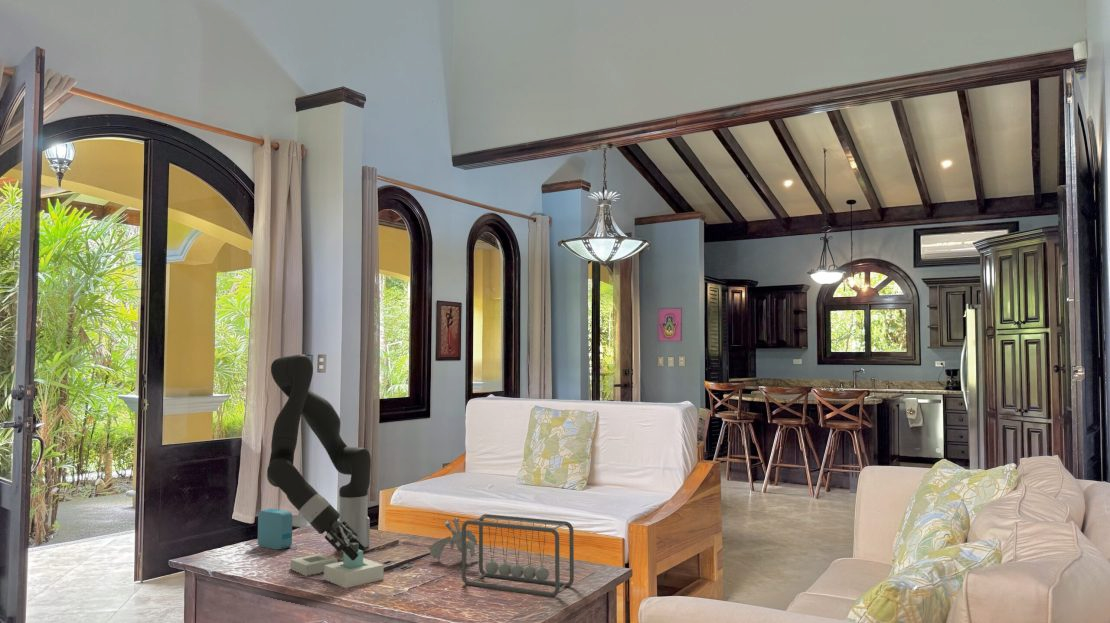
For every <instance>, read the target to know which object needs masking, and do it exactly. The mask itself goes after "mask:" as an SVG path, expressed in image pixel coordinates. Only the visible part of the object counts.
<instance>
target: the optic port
mask: <svg viewBox="0 0 1110 623" xmlns="http://www.w3.org/2000/svg"><path fill="white" fill-rule="evenodd" d="M384 565H385V564H382V563H380V562H376V561H373V560H370V559H367V558H365V557H363V566H362V567H357V568H353V569H348V568H346V567H343V561H339V562H337V563H333V564H328V565H324V572H323V573H324V576H323V580H324V579H325V581H326V582H329V581H330V582H329V583H332V584H335V585H337V586H339V587H341V588H344V589H348V588H352V587H356V586H362V585H365V584H369V583H374V582H376V581H377V582H378V581H382V580H384V579H385V578H384V574H385V573H384V568H385V567H384Z"/></svg>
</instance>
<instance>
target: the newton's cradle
mask: <svg viewBox="0 0 1110 623" xmlns="http://www.w3.org/2000/svg"><path fill="white" fill-rule="evenodd" d="M484 519H489V520H492V521H484ZM498 520H501V521H504V522H499V521H498ZM494 521H496V522H494ZM505 521H507V522H517V523H514V524H513V523H506V522H505ZM523 522H524V523H529V524H519V523H523ZM462 523H463V524H462V526H461V531H462V553H461V580H462V582H463V583H464V584H465V585H467V586H473V587H480V588H485V589H495V590H500V591H501V590H502V591H508V592H516V593H522V594H531V595H536V596H544V597H556V596H557V595H558V594H559V593H560V590H562V589H563V588H570V587H571V586H572V585H573V584H574V580H575V574H574V573H575V572H574V571H575V566H574V565H575V564H574V562H575V561H574V560H575V559H574V558H575V553H574V552H575V548H574V546H575V545H574V543H575V542H574V532H575V531H574V527H573V525H572V524H571V523H570V521H565V520H563V521H562V520H555V519H554V520H553V519H543V518H532V517H524V516H523V517H521V516H510V515H500V514H488V513H485V514H482V515H480V517H478V518H475V519H473V520H472V519H471V520H470V519H468V520H466V521H463V522H462ZM530 524H532V525H530ZM534 524H541V525H540V526H536V525H534ZM468 525H471V526H472V525H473V526H478V571H479V573H480V574H481V576H479V577H477V578H475V579H473V580H468V579H467V575H466V574H467V573H466V572H467V569H466V568H467V558H466V541H467V538H466V530H467V526H468ZM544 525H545V526H544ZM547 525H554V526H555V527H548V526H547ZM564 526H566V527H568V530H569V531H568V532H569V535H568V538H569V540H568V541H569V581H568V582H563V581H560V580H561V579H560V534H559V533H558V531H557V530H556V529H558V528H560V527H564ZM484 527H488V532H489V533H488V535H489V537H491V530H490V527H493V528H495V531H497V528H500V532H501V534H500V535H503V529H507V533H509V532H510V529H511V530H512V532H513V533H512V534H515V530H519V535H522V534H521V532H522V531H523V530H524V531H525V532H527V531H532V532H531V539H533V537H534V536H533V535H534V532H537V535H538V536H537V537H538V538H540V533H539V532H541V533H542V532H543V533H551V534H553V535H554V558H555V560H554V572H555V573H554V574H555V575H554V576H555V577H554V578H555V579H554V581H553V580H547V579H548V578H549V575H550V572H549V569H548V568H547V567H546V566H544V563H540V566H539V567H537V569H536V567H535V566H534V565H532V564H531V563H532V562H531V561H532V555H530V557H529V556H527V559H528V560H527V561H528V563H527V564H528V565H526V566H523V565H522V564H521V563H519V562H518V560H520V559H519V557H520V551H518V552H516V551H517V550H516V548H514V551H515V552H514V553H515V556H517V558H515V563H514V564H512V565H511V563H509V562H507V560H506V558H503V562H501V563H500V564H499V563H498V562H497V561H495V560H494V559H493V557H494V556H495V550H493V552H492V554H493V555H490V560H488V561H487V563H486V564H485V566H484V564H483V563H484V545H483V544H484V542H483V541H484ZM502 528H503V529H502ZM496 537H497V533H495V535H494V540H496ZM527 537H528V536H527V535H525V542H526V543H528V538H527ZM543 538H544V540H543V545H545V544H546V543H545V542H546V536H544V537H543ZM506 540H507V541H506V545H508V542H509V541H508V540H509V537H507V539H506ZM518 541H519V542H518V547H520V546H521V545H520V544H521V538H519V539H518ZM501 543H502V545H504V539H503V537H501ZM513 543H514V545H516V539H515V537H513ZM540 543H541V542H540V541H538V548H539V549H541V546H540V545H541V544H540ZM491 545H492V544H491V541H489V547H490V548H489V550H490V551H492V548H491V547H492V546H491ZM495 545H496V542H494V544H493V548H495ZM528 546H529V545H526V551H527V553H529V549H528ZM532 546H533V543H531V546H530V547H531V548H530V552H532V548H533V547H532ZM505 549H506V550H504V548H502V553H503V556H505V557H507V553H508V548H505ZM504 551H506V552H504ZM541 555H542V556H541ZM539 556H540V558H539V560H542V559H544V556H545V549H543V553H542V554H541V552H539ZM529 558H530V559H529ZM484 567H485V570H484ZM497 572H499V573H497ZM483 577H484V578H485V577H486V578H487V577H488V578H494V579H502V580H510V581H518V582H525V583H531V584H532V583H533V584H539V585H546V586H555V588H554V591H545V590H539V589H530V588H523V587H515V586H509V585H501V584H494V583H493V584H492V583H488V582H480V581H478V580H480V579H482V578H483ZM477 581H478V582H477Z"/></svg>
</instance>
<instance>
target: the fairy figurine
mask: <svg viewBox="0 0 1110 623" xmlns="http://www.w3.org/2000/svg"><path fill="white" fill-rule="evenodd" d="M452 522H453V524H454V527H455V529H453V527H452V523H451V522H450V520H449V519H448V520H445V522H444V526H445V527H446V528H447V529H448V530H449V532H451V535H452V536H445V537H444V538H441V539H439V540H437V541H435V542H434V543H432V544H431V545H430V546H429V547H428V550H429V555H432V557H433V558H432V559H433V560H434V559H437V561H441V556H442V554H443V551H444V549H445V547H446V546H447V544H448V543H449V545H450V548H451V550H452V551H453V550H454V546H455V545H454V544H456V548H457V550H458V551H459V552H460V553H461V554H462V528H461V526H460V524H459V523H460V518H459V517H457V518H453V519H452ZM466 539H468V540H466V559H467V558H468V557H467V556H468V550H469V555H470V559H473V557H475V556H476V555H477V554H479V551H475V547H479V544H478V543H479V540H477V539H476V535H475V534H474V533H473V531H472V530H470V529H466ZM477 542H478V543H477Z"/></svg>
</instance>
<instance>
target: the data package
mask: <svg viewBox="0 0 1110 623" xmlns="http://www.w3.org/2000/svg"><path fill="white" fill-rule="evenodd" d="M292 543H293V513H292V512H291V511H290V510H283V509H278V508H277V509H276V508H268V509H263V510H262V509H261V510H260V511H258V515H257V545H258V547H260V548H261V547H262V548H267V549H271V548H274V549H273V550H277V549H280V550H284V549H286V548H287V547H288V548H290V547H291V546H292Z"/></svg>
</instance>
